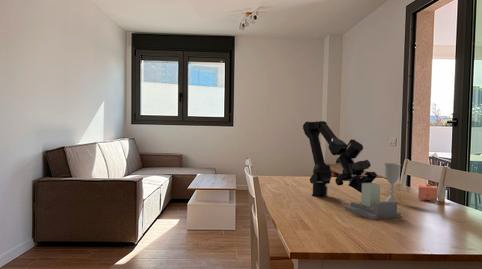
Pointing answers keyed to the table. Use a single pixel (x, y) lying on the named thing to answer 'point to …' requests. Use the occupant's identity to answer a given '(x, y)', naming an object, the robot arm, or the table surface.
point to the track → (375, 210)
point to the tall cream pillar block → (370, 194)
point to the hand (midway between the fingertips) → (365, 194)
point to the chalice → (392, 177)
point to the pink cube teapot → (427, 192)
